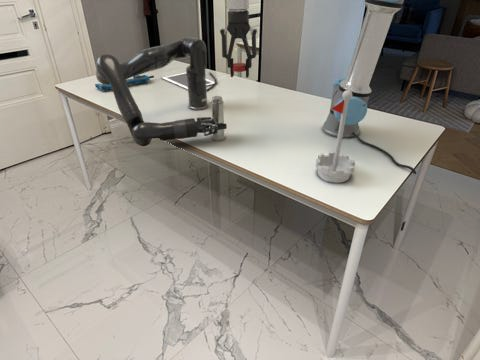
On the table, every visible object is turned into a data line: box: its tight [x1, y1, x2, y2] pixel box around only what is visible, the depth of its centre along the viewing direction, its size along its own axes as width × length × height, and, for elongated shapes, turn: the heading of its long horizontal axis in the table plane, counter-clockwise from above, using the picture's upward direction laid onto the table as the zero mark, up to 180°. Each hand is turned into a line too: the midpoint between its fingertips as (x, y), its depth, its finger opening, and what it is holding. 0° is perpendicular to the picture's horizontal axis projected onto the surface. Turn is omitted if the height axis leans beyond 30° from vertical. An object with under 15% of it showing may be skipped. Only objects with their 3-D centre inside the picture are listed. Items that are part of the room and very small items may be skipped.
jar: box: [210, 95, 225, 142], centre depth 139 cm, size 5×5×18 cm
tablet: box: [161, 71, 218, 91], centre depth 211 cm, size 32×20×1 cm, turn 41°
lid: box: [233, 62, 246, 73], centre depth 130 cm, size 5×6×2 cm
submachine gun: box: [94, 74, 155, 92], centre depth 207 cm, size 34×4×25 cm
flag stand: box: [315, 90, 356, 183], centre depth 111 cm, size 13×13×30 cm
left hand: (224, 123), depth 141 cm, fingers closed on jar, 5 cm apart
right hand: (239, 76), depth 132 cm, fingers closed on lid, 5 cm apart
